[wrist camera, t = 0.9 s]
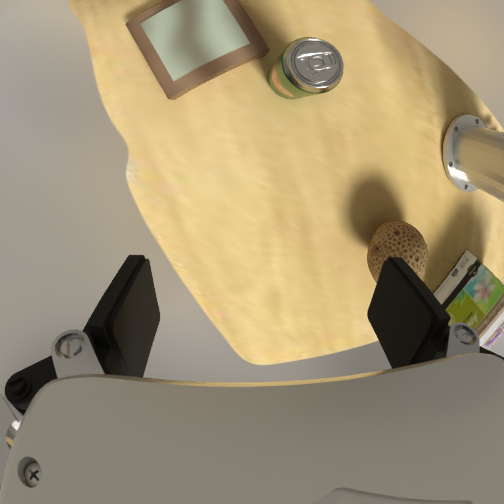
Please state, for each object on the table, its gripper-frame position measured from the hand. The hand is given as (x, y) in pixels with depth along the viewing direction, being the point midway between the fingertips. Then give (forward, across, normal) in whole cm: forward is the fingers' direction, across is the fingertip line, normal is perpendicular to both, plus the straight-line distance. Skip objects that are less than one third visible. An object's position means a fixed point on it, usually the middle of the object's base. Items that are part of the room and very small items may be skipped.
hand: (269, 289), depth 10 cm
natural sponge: (+25, -20, +9) cm, 33 cm away
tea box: (+25, -41, +20) cm, 52 cm away
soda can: (+25, -4, -11) cm, 27 cm away
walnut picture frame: (+24, +7, -16) cm, 30 cm away
